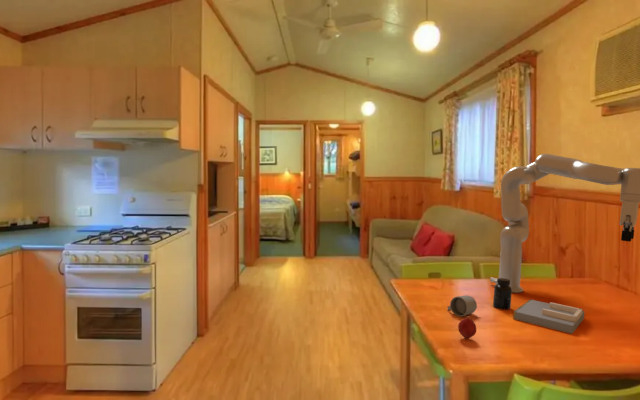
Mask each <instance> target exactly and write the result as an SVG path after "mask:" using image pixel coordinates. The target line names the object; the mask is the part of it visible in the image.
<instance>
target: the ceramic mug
mask: <svg viewBox="0 0 640 400" xmlns="http://www.w3.org/2000/svg"><path fill="white" fill-rule="evenodd" d="M449 303H450V304H449V305H448V306H447V310H448V311H451V312H452V313H453V314H454V315H455V316H456V317H459V318H461V317H466V316H468V315H471V314H473V313H475V311H476V310H477V308H478V305H477V301H476V299H475V298H474V297H473V296H470V295H466V294H465V295H460V296H459V295H458V296H454V297H453V298H452V299H451V300H450V302H449Z"/></svg>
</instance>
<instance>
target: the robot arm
mask: <svg viewBox="0 0 640 400" xmlns="http://www.w3.org/2000/svg"><path fill="white" fill-rule="evenodd" d="M550 174H551V175H554V176H559V177H564V178H569V179H573V180H581V181H585V182H590V183H596V184H599V185H605V186H617V185H621V187H620V192H619V193H620V194H619V195H620V196H619V201H620V202H622V203H621V207H620V208H621V209H620V218H619V223H618V224H619V225H620V226H622V225H623V226H622V230H621V236H620V238H621V239H620V240H621V241H622V242H629V243H630V242H631V241H632V240H633V239H634V237H635V226H636V225H637V220H638V214H639V208H640V207H639V206H640V168H639V167H627V168H626V167H625V168H621V167H614V166H609V165H604V164H603V165H602V164H597V163H593V162H592V163H591V162H588V161H584V160H582V159H576V158H571V157H567V156H560V155H555V154H549V153H542V154H539V155H538V156H537V157H536V158H535V161H534V162H531V163H530V164H528V165H526V166H524V165H523V166H522V165H521V166H520V165H519V166H515V167H512V168H510V169H509V170H507V171H506V172H505V173H504V174H503V176H502V178H501V180H500V181H501V182H500V193H501V196H500V199H501V202H500V203H501V216H502V218H503V220H505V221H506V222H508V223H507V224H508V225H506V226H505V227H503V229H502V230H501V232H500V234H499V235H500V236H499V241H500V252H499V253H500V255H499V270H498V277H496V278H495V277H490V278H489V281H490V282H491V283H495V284H494V286H495V285H497V284H498V283H497V281H498V278H505V279H509V280H510V285H509V286H510V287H511V288H512V294H513V293H515V294H518V293H523V292H524V289H523V287H522V286H521V275H522V274H521V273H522V258H523V246H522V245H523V242H526V241H527V239H528V238H529V236H530V235H529V234H530V224H529V213H528V212H529V211H528V207H526V205H525V204H524V203H522V202H521V201H522V200H521V189H520V186H522V185H528V184H529V185H530V184H532V183H534V182H537V181H539V180H541V179H543V178H544V177H547V176H548V175H550Z"/></svg>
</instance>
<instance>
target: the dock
mask: <svg viewBox="0 0 640 400" xmlns="http://www.w3.org/2000/svg"><path fill="white" fill-rule="evenodd" d="M584 319H585V311H584V309H583V308H579V307H575V306H570V305H564V304H560V303H556V302H551V301H550V302H549V303H548V302H543V301H540V300H535V299H528V300H527V301H526V302H524V303H523V304H521V305H520V306H519V307H518V308H516V309H515V310H514V311H513V320H517V321H519V322H520V321H521V322H524V323H529V324H531V325H535V326H538V327H539V326H541V327H544V328H548V329H552V330H556V331H559V332H563V333H567V334H571V335H572V334H573V333H574V332H575V331H576V329H578V327H579V326H580V324H581V323H582V322H583V321H584Z"/></svg>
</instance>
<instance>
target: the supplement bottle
mask: <svg viewBox="0 0 640 400" xmlns="http://www.w3.org/2000/svg"><path fill="white" fill-rule="evenodd" d="M497 278H498V281H497V283H498V284H497V285H495V284H494V287H493V301H492V306H493V308H496V309H499V310H504V311H505V310H507V311H508V310H510V309H511V305H512V295H513V293H512V288H511V287H510V286H509V285H510V280H509V279H505V278H499V277H497Z"/></svg>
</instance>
